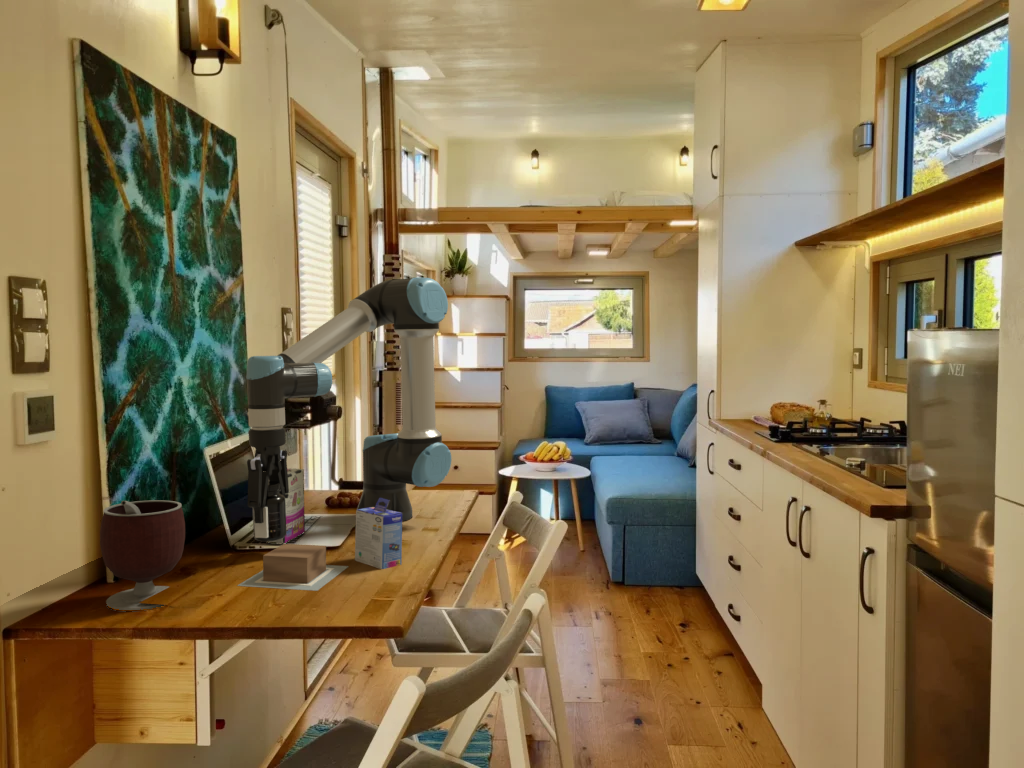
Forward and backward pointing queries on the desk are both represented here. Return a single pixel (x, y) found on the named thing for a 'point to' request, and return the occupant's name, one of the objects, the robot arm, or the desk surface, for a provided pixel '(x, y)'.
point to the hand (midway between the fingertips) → (270, 532)
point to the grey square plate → (312, 585)
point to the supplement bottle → (274, 513)
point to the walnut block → (294, 563)
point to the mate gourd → (141, 547)
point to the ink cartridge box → (378, 536)
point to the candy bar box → (294, 505)
